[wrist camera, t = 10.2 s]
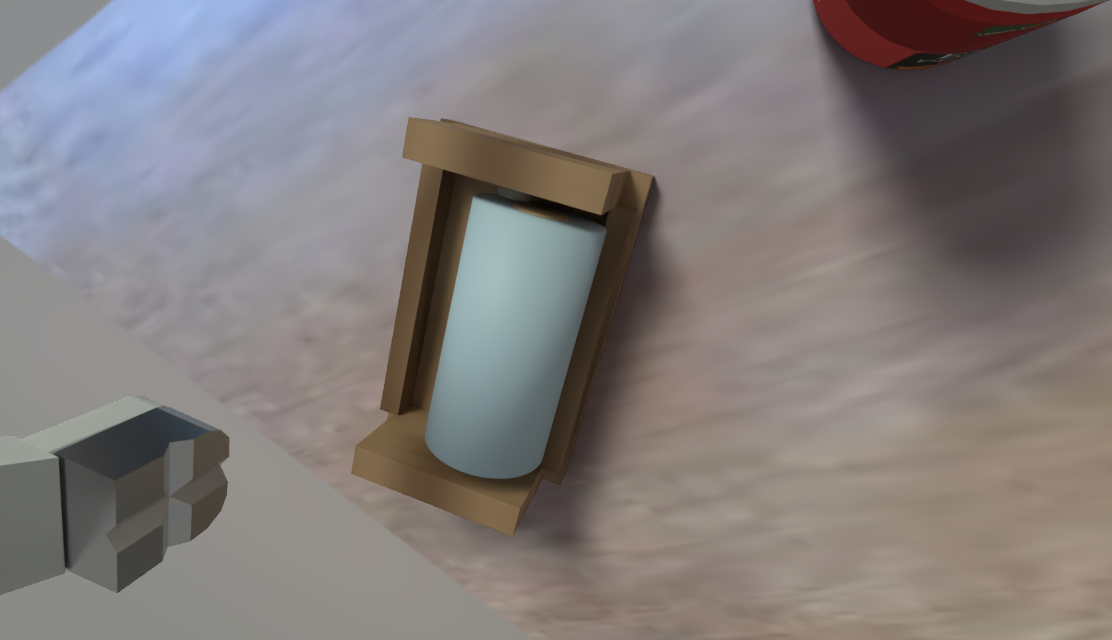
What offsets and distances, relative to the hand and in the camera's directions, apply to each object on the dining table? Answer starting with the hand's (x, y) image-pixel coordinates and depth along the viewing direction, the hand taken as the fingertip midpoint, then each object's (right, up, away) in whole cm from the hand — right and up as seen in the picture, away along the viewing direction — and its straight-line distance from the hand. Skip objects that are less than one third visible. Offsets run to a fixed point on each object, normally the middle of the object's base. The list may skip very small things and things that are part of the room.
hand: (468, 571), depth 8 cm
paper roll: (-1, +4, +20) cm, 21 cm away
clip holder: (-1, +4, +21) cm, 22 cm away
